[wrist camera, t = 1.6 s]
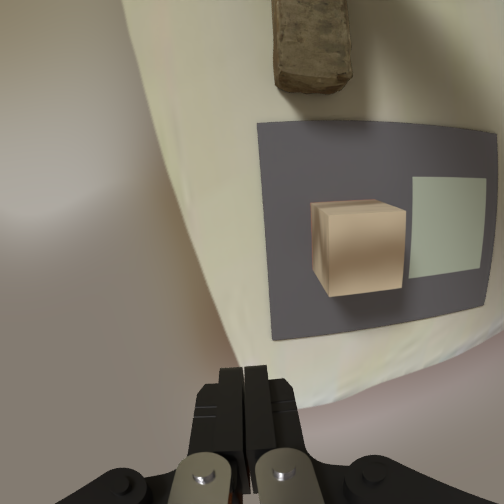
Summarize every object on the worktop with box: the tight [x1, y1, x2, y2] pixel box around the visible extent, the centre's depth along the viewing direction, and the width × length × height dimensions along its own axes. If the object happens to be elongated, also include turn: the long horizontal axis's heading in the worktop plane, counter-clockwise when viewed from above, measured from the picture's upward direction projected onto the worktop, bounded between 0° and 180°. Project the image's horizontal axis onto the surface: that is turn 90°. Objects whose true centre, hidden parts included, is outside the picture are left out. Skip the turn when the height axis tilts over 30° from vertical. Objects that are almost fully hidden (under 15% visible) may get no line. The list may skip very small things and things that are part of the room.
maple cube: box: [310, 199, 406, 297], centre depth 25 cm, size 6×6×6 cm
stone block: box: [271, 0, 353, 94], centre depth 21 cm, size 6×12×5 cm, turn 2°
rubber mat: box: [257, 121, 498, 340], centre depth 28 cm, size 20×26×1 cm
